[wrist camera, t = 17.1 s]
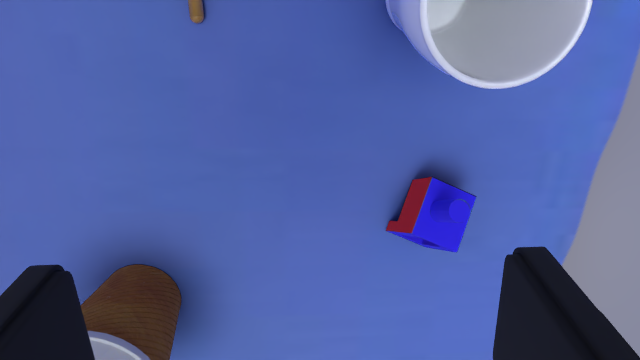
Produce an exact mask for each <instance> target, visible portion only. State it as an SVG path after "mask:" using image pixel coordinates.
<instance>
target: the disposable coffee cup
mask: <svg viewBox="0 0 640 360" xmlns="http://www.w3.org/2000/svg"><path fill="white" fill-rule="evenodd" d="M180 306H181V294H180V291H179V289H178V287H177V285H176V283H175V282H174V281H173V280H172V278H171V277H170V276H168V275H167V274H166V273H164V272H163V271H161V270H159V269H157V268H155V267H151V266H147V265H129V266H126V267H123V268H120V269H119V270H117V271H115V272H114V273H113V274H112V275H111V276H110V277H109V278H108V279H107V280H106V281H105V282H104V283H103V284H102V285H101V286H100V287H99V288H98V289H97V290H96V291H95V292H94V293H93V294H92V295H91V296H90V297H89V298H88V299H87V300H86V301H85V302H84V303H83V304H82V305H81V309H82V313H83V317H84V320H85V324H86V328H87V331H88V335H89V339H90V342H91V346H92V350H93V353H94V357H95V360H169V359H170V354H171V349H172V345H173V340H174V335H175V330H176V325H177V320H178V315H179V310H180Z"/></svg>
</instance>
